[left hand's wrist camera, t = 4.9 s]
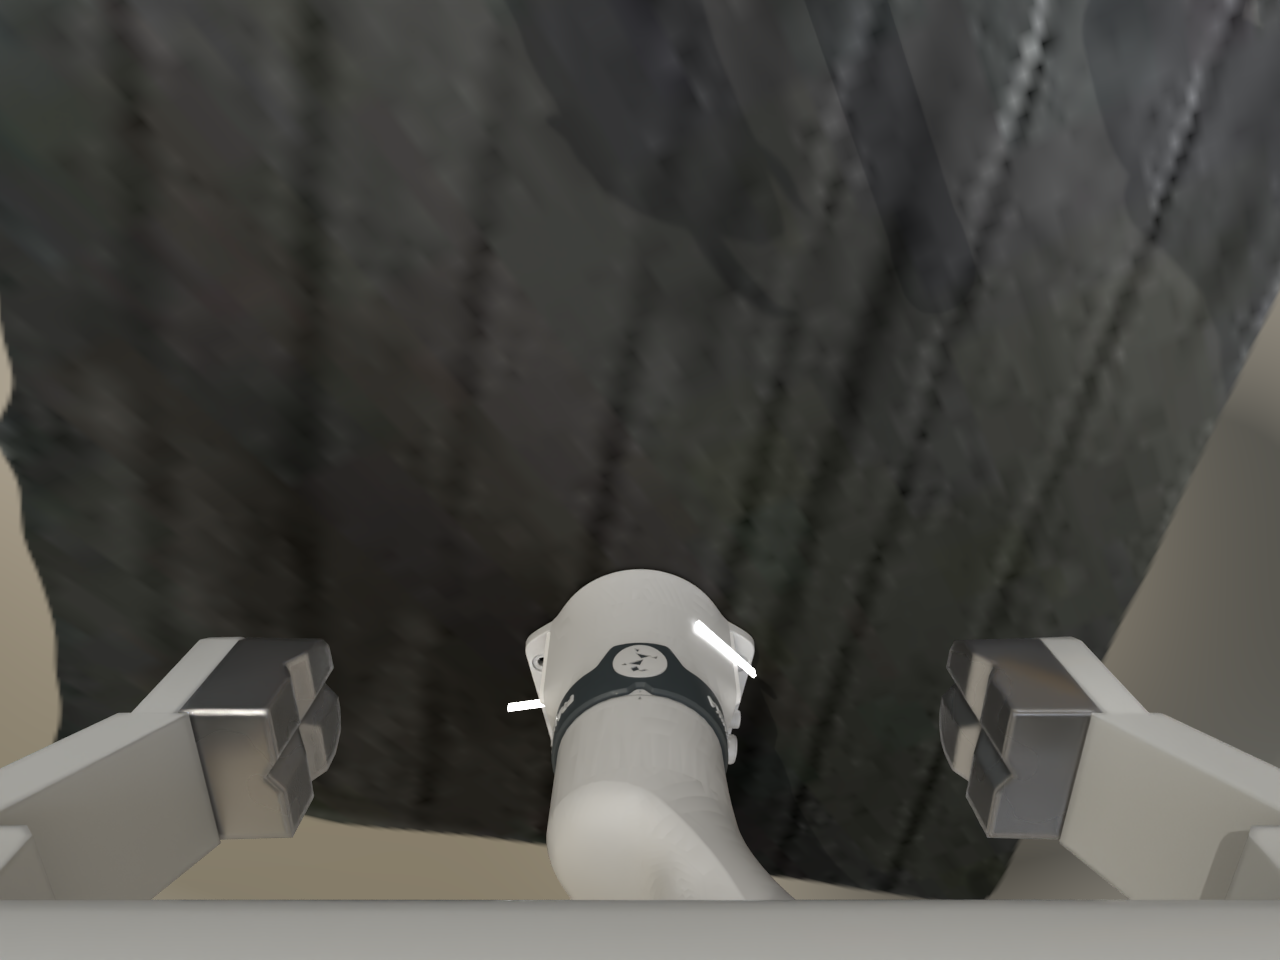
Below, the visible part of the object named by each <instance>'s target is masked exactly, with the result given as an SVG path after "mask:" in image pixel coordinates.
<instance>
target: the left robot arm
mask: <svg viewBox="0 0 1280 960" xmlns="http://www.w3.org/2000/svg"><path fill="white" fill-rule="evenodd" d="M754 651H755V649H754V640H753V638H752V637H751V636H750V635H749V634H748V633H747V632H745V631H744V630H742V629H741V628H739V627H737V626H735V625H734V624H732V623H730V622H728V621H727V620H726V619H725V618H724V617H723V616H722V614H721V613H720V612H719V610H718V609H717V607H716V606H715V605H714V603H713V602H712V601H711V600H710V598H709V597H708V596H707V595H706V594H705V593H703V592H702V591H701V590H700V589H699V588H697V587H696V586H695V585H693V584H691V583H690V582H688V581H686V580H684V579H682V578H680V577H678V576H675V575H672V574H669V573H666V572H661V571H656V570H648V569H632V570H624V571H619V572H614V573H611V574H608V575H605V576H602V577H600V578H598V579H596V580H594V581H592V582H590V583H589V584H587V585H585V586H584V587H583V588H581V589H580V590H579V591H578V592H577V593H575V594H574V595H573V596H572V597H571V598H570V600H569V601H568V602H567V603H566V605H565V606H564V607H563V609H562V610H561V612H560V613H559V614H558V616H557V617H556V618H555V619H554V620H553V621H552V622H550V623H548V624H546V625H545V626H543V627H541V628H540V629H538V630H536V631H535V632H534V633H532V634H531V635H530V636H529V637H528V638H527V640H526V656H527V659H528V663H529V666H530V670H531V673H532V677H533V680H534V683H535V687H536V690H537V694H538V697H539V700H532V701H524V702H517V703H510V704H508V712H509V711H516V710H524V709H531V708H538V707H542V711H543V714H544V717H545V721H546V724H547V728H548V731H549V734H550V738H551V746H552V753H551V754H552V767H553V772H554V775H555V776H554V784H553V791H552V798H551V805H550V813H549V820H548V828H547V850H548V856H549V859H550V862H551V866H552V868H553V871H554V873H555V875H556V877H557V879H558V880H559V882H560V884H561V885H562V887H563V889H564V890H565V892H566V893H567V894H568V896H569V897H570V899H571V900H151V899H152V898H153V897H155V896H156V895H157V894H158V893H160V892H161V891H162V890H163V889H165V888H166V887H167V886H168V885H170V884H171V883H172V882H173V881H174V880H176V879H177V878H178V877H179V876H181V875H182V874H183V873H184V872H186V871H187V870H188V869H189V868H191V867H192V866H193V865H194V864H196V863H197V862H198V861H199V860H200V859H202V858H203V857H204V856H205V855H207V854H208V853H209V852H210V851H212V850H213V849H214V848H215V847H217V846H218V845H219V844H220V840H221V839H256V838H291V837H293V835H294V834H295V831H296V830H297V828H298V826H299V824H300V822H301V820H302V818H303V816H304V814H305V813H306V811H307V809H308V807H309V805H310V803H311V801H312V799H313V797H314V793H313V788H312V782H311V781H312V780H314V779H315V778H317V777H318V776H320V775H321V774H323V773H324V772H326V771H327V770H328V768H329V766H330V764H331V762H332V760H333V758H334V756H335V754H336V750H337V745H338V740H339V736H340V731H341V711H340V705H339V698H338V696H337V695H336V694H335V693H334V692H333V691H332V690H331V689H330V688H329V687H328V686H327V685H326V684H325V681H326V679H327V678H328V676H329V674H330V673H331V671H332V669H333V663H332V658H331V653H330V648H329V645H328V644H327V643H326V642H325V641H324V640H323V639H298V638H249V637H248V638H243V637H210V638H206V639H201V640H199V641H198V642H197V643H196V644H195V645H194V647H193V648H192V649H191V650H190V651H189V652H188V653H187V654H186V655H185V656H184V657H183V658H182V659H181V660H180V661H179V663H178V664H177V665H176V666H175V667H174V668H173V669H172V670H171V671H170V672H169V673H168V674H167V675H166V676H165V677H164V678H163V680H162V681H161V682H160V683H159V684H158V685H157V686H156V687H155V688H154V689H153V690H152V691H151V692H150V693H149V694H148V696H147V697H146V698H145V699H144V700H143V701H142V702H141V703H140V704H139V705H138V706H137V707H136V708H135V709H134V710H133V712H132V713H117V714H115V715H113V716H111V717H109V718H107V719H105V720H102V721H100V722H98V723H96V724H94V725H92V726H90V727H87V728H85V729H83V730H81V731H79V732H77V733H75V734H73V735H70V736H68V737H66V738H64V739H62V740H60V741H58V742H56V743H53V744H51V745H49V746H47V747H45V748H43V749H41V750H38V751H36V752H34V753H32V754H30V755H28V756H26V757H24V758H21V759H19V760H17V761H15V762H13V763H11V764H9V765H7V766H4V767H2V768H0V960H1280V769H1279V768H1277V767H1275V766H1273V765H1271V764H1269V763H1267V762H1265V761H1263V760H1260V759H1258V758H1256V757H1254V756H1252V755H1250V754H1248V753H1245V752H1243V751H1241V750H1239V749H1237V748H1235V747H1233V746H1231V745H1229V744H1226V743H1224V742H1222V741H1220V740H1218V739H1216V738H1214V737H1211V736H1209V735H1207V734H1205V733H1203V732H1201V731H1199V730H1197V729H1195V728H1192V727H1190V726H1188V725H1186V724H1184V723H1182V722H1180V721H1178V720H1175V719H1173V718H1171V717H1169V716H1167V715H1165V714H1163V713H1148V711H1147V710H1146V709H1145V708H1144V707H1143V706H1142V705H1141V704H1140V703H1139V702H1138V701H1137V700H1136V699H1135V698H1134V697H1133V695H1132V694H1131V693H1130V692H1129V691H1128V690H1127V689H1126V688H1125V687H1124V686H1123V685H1122V684H1121V683H1120V682H1119V681H1118V679H1117V678H1116V677H1115V676H1114V675H1113V674H1112V673H1111V672H1110V671H1109V670H1108V669H1107V668H1106V667H1105V666H1104V665H1103V663H1102V662H1101V661H1100V660H1099V659H1098V658H1097V657H1096V656H1095V655H1094V654H1093V653H1092V652H1091V651H1090V650H1089V649H1088V647H1087V646H1086V645H1085V644H1084V643H1083V642H1082V641H1080V640H1078V639H1076V638H1073V637H1049V638H1029V639H988V640H955V641H954V643H953V645H952V647H951V649H950V651H949V657H948V662H947V669H948V671H949V673H950V674H951V676H952V678H953V679H954V681H955V684H954V685H953V686H952V687H951V688H950V689H949V690H948V691H947V692H946V693H945V694H944V695H943V696H942V698H941V706H940V714H939V726H940V737H941V743H942V746H943V749H944V753H945V756H946V758H947V760H948V762H949V764H950V766H951V768H952V770H953V771H954V772H956V773H957V774H959V775H960V776H962V777H963V778H965V779H966V780H968V781H969V782H968V788H967V793H966V797H967V799H968V801H969V803H970V805H971V807H972V809H973V811H974V812H975V814H976V816H977V818H978V820H979V822H980V824H981V826H982V828H983V830H984V831H985V833H986V835H987V837H988V838H1023V839H1059V840H1060V841H1059V843H1060V844H1061V845H1063V846H1064V847H1065V848H1066V849H1068V850H1069V851H1070V852H1071V853H1072V854H1074V855H1075V856H1076V857H1077V858H1079V859H1080V860H1081V861H1082V862H1084V863H1085V864H1086V865H1087V866H1088V867H1090V868H1091V869H1092V870H1093V871H1095V872H1096V873H1097V874H1098V875H1100V876H1101V877H1102V878H1103V879H1105V880H1106V881H1107V882H1108V883H1109V884H1111V885H1112V886H1113V887H1114V888H1116V889H1117V890H1118V891H1119V892H1121V893H1122V894H1123V895H1124V896H1126V897H1127V898H1128V899H1129V900H795V899H794V898H793V897H792V896H790V895H789V894H788V893H787V892H786V891H785V890H784V889H783V888H782V887H781V886H780V885H779V884H778V883H777V882H776V881H775V880H774V879H773V878H772V877H771V876H770V875H769V874H768V872H767V871H766V870H765V869H764V868H763V867H762V866H761V864H760V863H759V862H758V861H757V859H756V858H755V857H754V856H753V854H752V853H751V851H750V850H749V848H748V847H747V845H746V844H745V842H744V840H743V838H742V836H741V834H740V832H739V829H738V826H737V823H736V819H735V816H734V812H733V808H732V804H731V800H730V796H729V791H728V786H727V781H726V772H727V767H728V764H733V763H734V762H735V759H736V754H737V738H736V736H734V735H733V734H731V731H732V728H733V729H735V728H736V729H738V728H739V726H740V720H741V714H740V711H738V707H739V704H740V700H741V697H742V694H743V690H744V687H745V683H746V680H747V677H748V674H749V675H750V676H752V677H753V678H754V677H755V676H756V673H755V669H754V668H753V667H751V663H752V660H753V656H754ZM542 657H544V660H543V661H541V660H540V659H539V658H542Z"/></svg>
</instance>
